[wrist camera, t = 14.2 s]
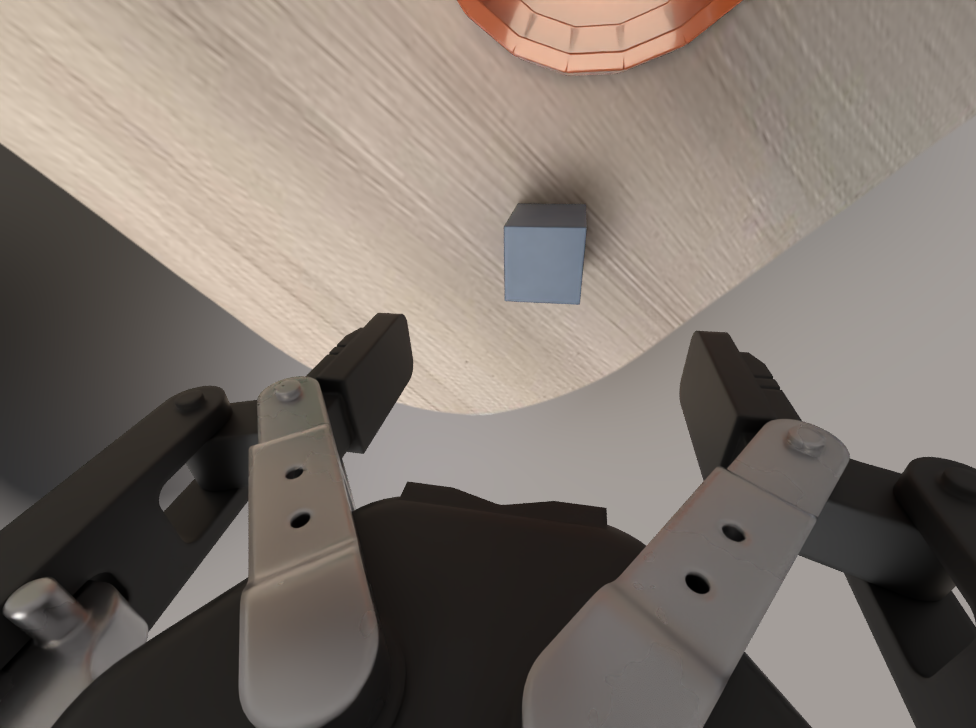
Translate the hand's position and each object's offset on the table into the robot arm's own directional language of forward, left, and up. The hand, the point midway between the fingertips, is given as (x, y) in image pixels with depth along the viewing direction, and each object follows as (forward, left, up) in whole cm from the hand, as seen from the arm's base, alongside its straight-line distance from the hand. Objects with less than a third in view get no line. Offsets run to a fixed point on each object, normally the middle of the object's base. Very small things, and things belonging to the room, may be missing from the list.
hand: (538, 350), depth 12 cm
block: (+1, +2, -19) cm, 19 cm away
